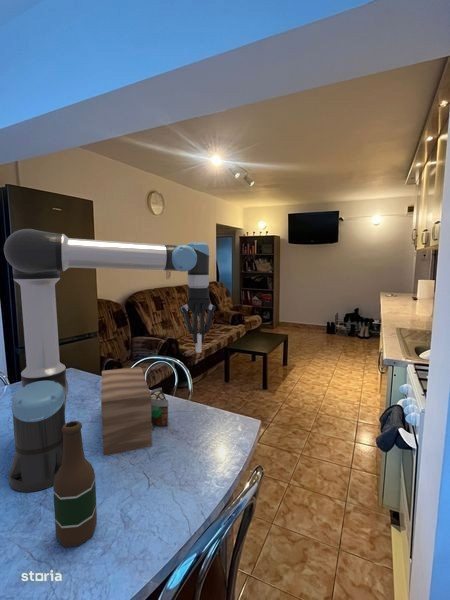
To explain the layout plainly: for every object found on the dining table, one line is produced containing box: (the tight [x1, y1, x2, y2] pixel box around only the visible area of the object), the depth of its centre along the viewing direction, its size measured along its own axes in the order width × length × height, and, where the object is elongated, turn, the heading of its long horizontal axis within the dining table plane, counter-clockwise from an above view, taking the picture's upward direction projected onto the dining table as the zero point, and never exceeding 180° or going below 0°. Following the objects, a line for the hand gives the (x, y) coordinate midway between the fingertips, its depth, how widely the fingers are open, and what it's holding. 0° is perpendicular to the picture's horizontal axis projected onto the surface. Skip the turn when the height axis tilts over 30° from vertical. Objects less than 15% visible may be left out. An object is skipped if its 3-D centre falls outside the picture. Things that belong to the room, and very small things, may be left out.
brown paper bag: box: [100, 366, 153, 457], centre depth 106 cm, size 28×14×16 cm, turn 21°
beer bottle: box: [52, 420, 98, 548], centre depth 64 cm, size 8×8×24 cm
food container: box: [150, 387, 169, 428], centre depth 111 cm, size 12×6×10 cm, turn 22°
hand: (198, 351), depth 113 cm, fingers closed
